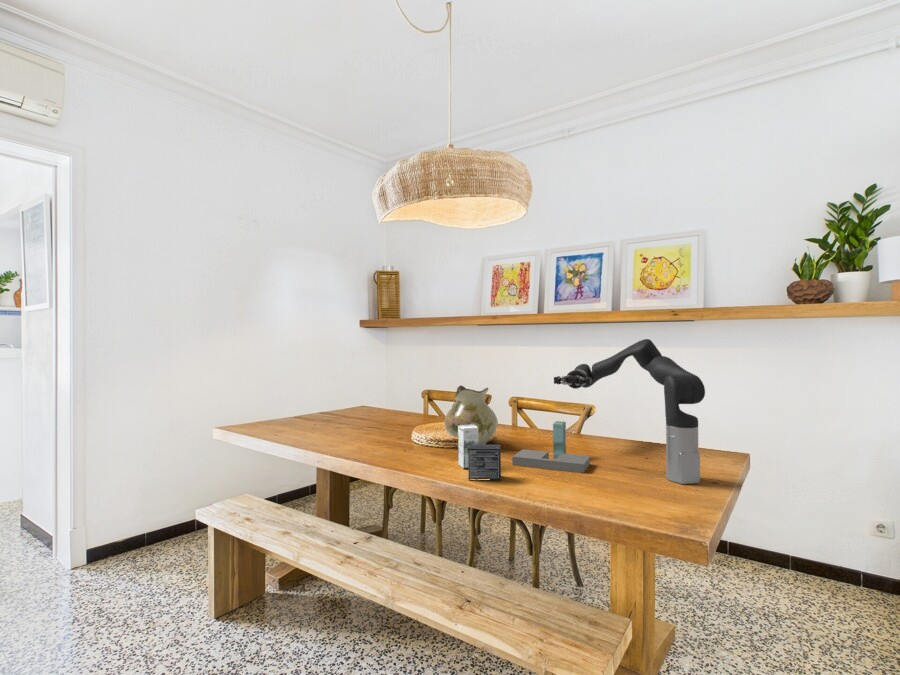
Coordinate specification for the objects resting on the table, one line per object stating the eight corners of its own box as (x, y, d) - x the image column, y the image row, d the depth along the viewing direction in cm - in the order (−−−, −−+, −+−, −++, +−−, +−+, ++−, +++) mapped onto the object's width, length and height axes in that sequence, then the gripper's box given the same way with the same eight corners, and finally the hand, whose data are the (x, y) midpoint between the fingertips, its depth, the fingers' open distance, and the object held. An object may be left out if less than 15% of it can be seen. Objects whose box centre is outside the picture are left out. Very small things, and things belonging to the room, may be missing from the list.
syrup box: (472, 463, 173) (472, 423, 173) (478, 468, 167) (478, 426, 167) (457, 465, 171) (457, 424, 171) (463, 469, 165) (463, 427, 165)
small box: (501, 475, 158) (500, 443, 158) (501, 481, 152) (500, 448, 152) (469, 474, 159) (468, 443, 159) (468, 480, 153) (467, 448, 153)
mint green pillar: (562, 459, 178) (562, 424, 178) (553, 458, 180) (553, 423, 180) (565, 455, 184) (565, 421, 184) (556, 454, 185) (556, 421, 185)
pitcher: (482, 454, 186) (481, 390, 187) (432, 447, 199) (431, 387, 199) (506, 443, 206) (505, 385, 206) (459, 438, 218) (458, 383, 218)
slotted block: (583, 473, 160) (583, 464, 160) (512, 464, 171) (512, 456, 171) (590, 464, 170) (590, 456, 170) (522, 457, 181) (522, 449, 181)
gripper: (594, 388, 197) (587, 392, 183) (560, 386, 204) (550, 390, 189) (594, 370, 197) (587, 372, 183) (560, 369, 204) (550, 372, 189)
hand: (568, 382), depth 186 cm, fingers open, 8 cm apart
